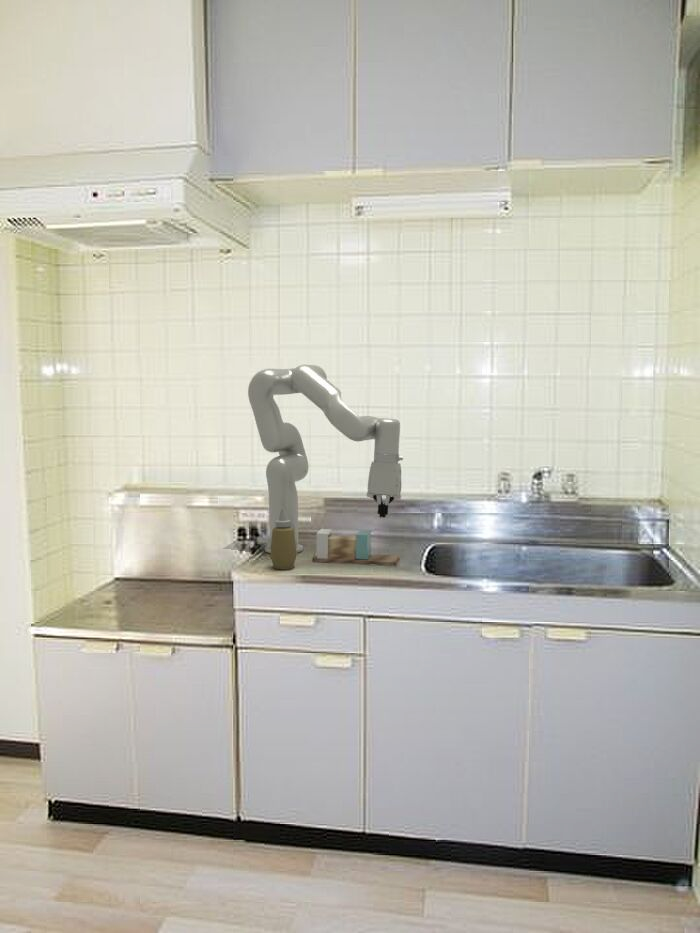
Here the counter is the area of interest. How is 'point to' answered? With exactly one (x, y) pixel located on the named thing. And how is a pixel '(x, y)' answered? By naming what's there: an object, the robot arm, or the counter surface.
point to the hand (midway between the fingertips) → (382, 516)
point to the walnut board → (351, 559)
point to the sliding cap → (363, 544)
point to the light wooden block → (342, 545)
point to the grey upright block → (323, 542)
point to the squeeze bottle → (283, 543)
